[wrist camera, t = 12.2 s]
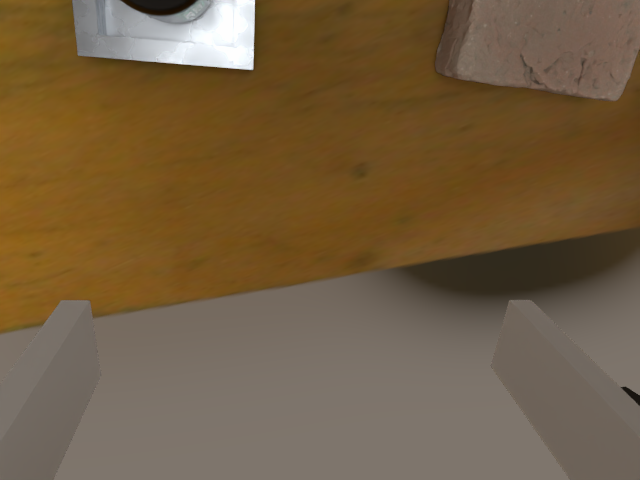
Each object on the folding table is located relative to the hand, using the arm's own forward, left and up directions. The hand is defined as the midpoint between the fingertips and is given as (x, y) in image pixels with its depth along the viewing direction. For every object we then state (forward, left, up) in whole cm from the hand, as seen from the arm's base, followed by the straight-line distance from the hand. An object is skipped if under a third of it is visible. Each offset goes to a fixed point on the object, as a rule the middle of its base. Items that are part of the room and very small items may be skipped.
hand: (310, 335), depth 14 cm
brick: (-24, -12, -29) cm, 39 cm away
